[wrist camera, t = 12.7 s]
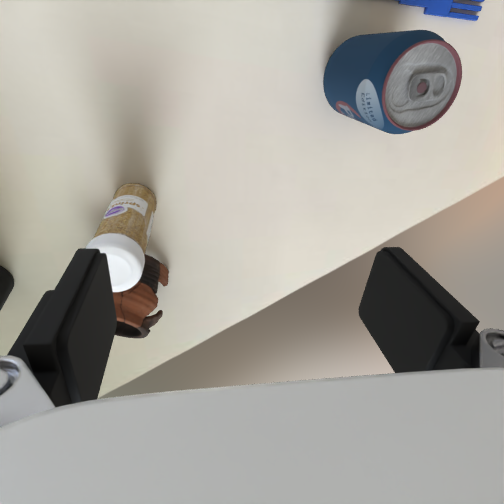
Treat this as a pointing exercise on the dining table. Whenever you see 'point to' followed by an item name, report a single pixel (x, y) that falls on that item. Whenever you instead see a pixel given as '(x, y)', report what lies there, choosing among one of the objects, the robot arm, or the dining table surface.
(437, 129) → the dining table surface
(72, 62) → the dining table surface
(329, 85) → the soda can
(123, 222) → the sprinkles bottle
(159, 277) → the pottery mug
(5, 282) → the drinking cup
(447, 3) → the blue fork
